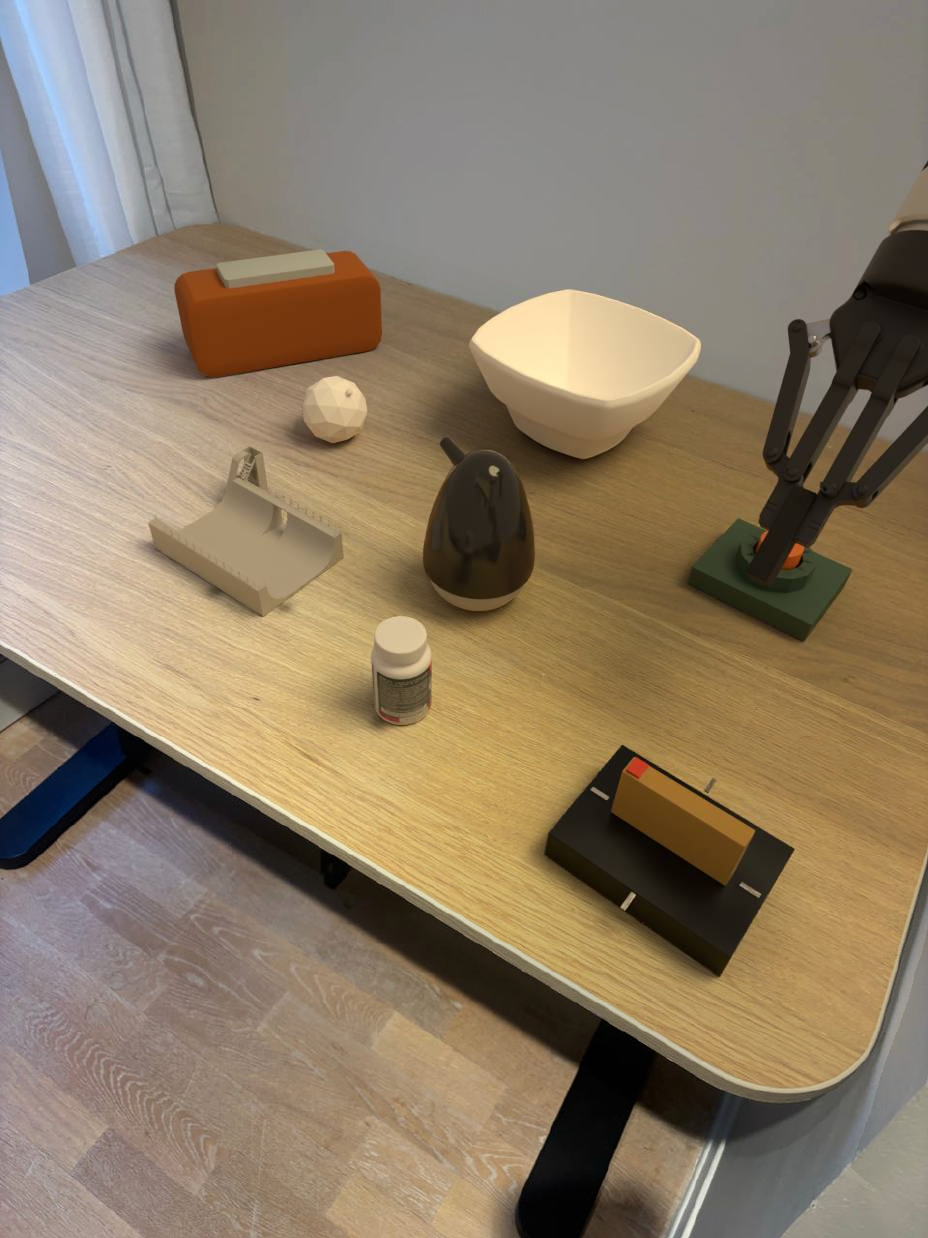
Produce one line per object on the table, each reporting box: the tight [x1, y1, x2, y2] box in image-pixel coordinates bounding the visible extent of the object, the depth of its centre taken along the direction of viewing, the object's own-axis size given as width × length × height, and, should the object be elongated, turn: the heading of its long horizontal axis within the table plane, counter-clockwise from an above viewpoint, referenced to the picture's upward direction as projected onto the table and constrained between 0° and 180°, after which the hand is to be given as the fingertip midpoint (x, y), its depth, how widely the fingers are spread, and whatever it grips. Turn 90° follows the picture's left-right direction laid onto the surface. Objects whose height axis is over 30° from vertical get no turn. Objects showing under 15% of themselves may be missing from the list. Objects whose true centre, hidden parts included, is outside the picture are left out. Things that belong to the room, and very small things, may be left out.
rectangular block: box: [611, 757, 755, 885], centre depth 59 cm, size 9×2×5 cm, turn 52°
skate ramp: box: [147, 445, 344, 617], centre depth 84 cm, size 15×13×5 cm
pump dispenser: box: [422, 436, 536, 612], centre depth 77 cm, size 10×10×15 cm
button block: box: [686, 517, 853, 642], centre depth 83 cm, size 12×10×4 cm
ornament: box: [301, 375, 368, 444], centre depth 97 cm, size 7×7×8 cm
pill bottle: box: [370, 615, 433, 726], centre depth 69 cm, size 5×5×8 cm
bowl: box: [468, 288, 702, 460], centre depth 98 cm, size 22×22×12 cm
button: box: [756, 531, 804, 570], centre depth 81 cm, size 4×4×2 cm
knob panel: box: [543, 744, 796, 978], centre depth 62 cm, size 14×13×3 cm
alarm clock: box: [173, 249, 383, 378], centre depth 110 cm, size 24×8×11 cm, turn 114°
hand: (758, 579), depth 59 cm, fingers closed
